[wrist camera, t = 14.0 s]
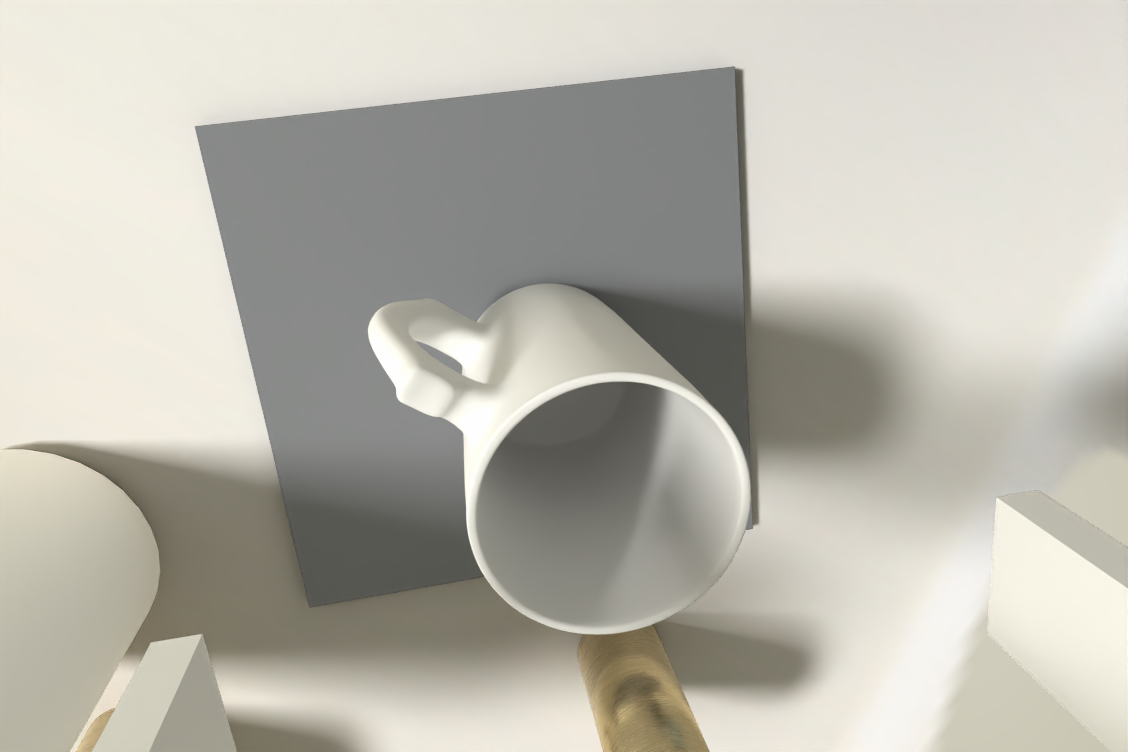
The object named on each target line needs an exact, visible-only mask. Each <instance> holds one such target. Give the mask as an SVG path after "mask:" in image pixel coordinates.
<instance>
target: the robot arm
mask: <svg viewBox="0 0 1128 752" xmlns="http://www.w3.org/2000/svg"><path fill="white" fill-rule="evenodd" d="M987 634H988V635H989V636H990V637H991V638H992V639H993V640H994V641H995V642H996V643H997V644H998V645H1000V647H1002V648H1003V649H1004V650H1005V651H1006V652H1007V653H1008V654H1009V655H1010V656H1011V657H1012V658H1013V659H1014V660H1015V661H1016V662H1017V663H1018V664H1019V665H1020V666H1021V667H1023V669H1025V671H1027V672H1028V673H1029V674H1030V675H1031V676H1032V677H1033V678H1034V679H1035V680H1036V681H1037V682H1038V683H1039V684H1040V685H1041V686H1042V687H1043V688H1044V689H1045V690H1046V691H1048V692H1049V693H1050V694H1051V695H1052V696H1053V697H1054V698H1055V699H1056V700H1057V701H1058V702H1059V703H1060V704H1061V705H1062V706H1063V707H1064V708H1065V709H1066V710H1067V711H1068V712H1069V713H1070V714H1072V715H1073V716H1074V717H1075V718H1076V719H1077V720H1078V721H1079V722H1080V723H1081V724H1082V725H1083V726H1084V727H1085V728H1086V729H1087V730H1088V731H1090V733H1091V734H1092V735H1093V736H1094V737H1095V738H1096V739H1098V740H1099V741H1100V742H1101V743H1102V744H1103V745H1104V746H1105V747H1106V748H1107V749H1108V750H1109V751H1110V752H1128V547H1127V546H1125V545H1124V544H1122V543H1121V542H1119V541H1117V540H1115V539H1114V538H1113V537H1111V536H1110V535H1108V534H1106V533H1105V532H1103V531H1102V530H1100V529H1099V528H1097V527H1095V526H1094V525H1092V524H1091V523H1089V522H1087V521H1086V520H1084V519H1083V518H1081V517H1080V516H1078V515H1077V514H1075V513H1073V512H1072V511H1070V510H1069V509H1067V508H1066V507H1064V506H1062V505H1061V504H1059V503H1058V502H1056V501H1055V500H1053V499H1051V498H1050V497H1048V496H1047V495H1045V494H1044V493H1042V492H1040V491H1039V490H1035V491H1029V492H1023V493H1018V494H1012V495H1006V496H1000V497H996V510H995V524H994V539H993V553H992V567H991V581H990V596H989V610H988V624H987ZM92 752H237V750H236V746H235V743H234V739H233V736H232V733H231V729H230V726H229V722H228V719H227V715H226V712H225V709H224V705H223V702H222V698H221V695H220V692H219V688H218V685H217V681H216V678H215V675H214V671H213V668H212V664H211V661H210V657H209V654H208V651H207V647H206V644H205V640H204V637H203V634H198V635H192V636H186V637H180V638H174V639H169V640H163V641H157V642H151V643H150V645H149V647H148V649H147V651H146V653H145V655H144V656H143V658H142V660H141V662H140V664H139V666H138V667H137V669H136V671H135V673H134V675H133V677H132V679H131V680H130V682H129V684H128V686H127V688H126V690H125V691H124V693H123V695H122V697H121V699H120V701H119V703H118V704H117V706H116V708H115V710H114V712H113V714H112V715H111V717H110V719H109V721H108V723H107V725H106V727H105V728H104V730H103V732H102V734H101V736H100V738H99V739H98V741H97V743H96V745H95V747H94V749H93V751H92Z"/></svg>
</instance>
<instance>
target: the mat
mask: <svg viewBox="0 0 1128 752" xmlns="http://www.w3.org/2000/svg"><path fill="white" fill-rule="evenodd" d="M195 129H196V134H197V138H198V142H199V146H200V150H201V155H202V159H203V163H204V167H205V171H206V175H207V180H208V184H209V188H210V192H211V196H212V201H213V205H214V209H215V213H216V217H217V222H218V226H219V230H220V234H221V238H222V243H223V247H224V251H225V255H226V259H227V264H228V268H229V272H230V276H231V280H232V284H233V289H234V293H235V297H236V301H237V305H238V310H239V314H240V318H241V322H242V326H243V331H244V335H245V339H246V343H247V347H248V352H249V356H250V360H251V364H252V368H253V372H254V377H255V381H256V385H257V389H258V393H259V398H260V402H261V406H262V410H263V414H264V419H265V423H266V427H267V431H268V435H269V440H270V444H271V448H272V452H273V456H274V461H275V465H276V469H277V473H278V477H279V481H280V486H281V490H282V494H283V498H284V502H285V507H286V511H287V515H288V519H289V523H290V528H291V532H292V536H293V540H294V544H295V549H296V553H297V557H298V561H299V565H300V569H301V574H302V578H303V582H304V586H305V590H306V595H307V599H308V603H309V607H316V606H322V605H327V604H333V603H338V602H344V601H350V600H355V599H361V598H367V597H372V596H378V595H383V594H389V593H395V592H400V591H406V590H412V589H417V588H423V587H428V586H434V585H440V584H445V583H451V582H457V581H462V580H468V579H473V578H479V577H485V576H484V575H483V573H482V571H481V570H480V568H479V566H478V564H477V561H476V559H475V557H474V554H473V551H472V548H471V545H470V541H469V536H468V531H467V522H466V498H465V476H464V436H463V432H462V431H461V430H460V429H459V428H458V427H457V426H455V425H454V424H452V423H451V422H449V421H448V420H446V419H444V418H442V417H434V416H430V415H427V414H425V413H422V412H420V411H418V410H416V409H414V408H412V407H410V406H408V405H406V404H404V403H402V402H400V401H399V400H398V398H397V395H396V387H395V385H394V383H393V382H392V380H391V379H390V377H389V376H388V374H387V373H386V371H385V370H384V368H383V367H382V365H381V363H380V362H379V360H378V358H377V356H376V355H375V353H374V351H373V349H372V346H371V344H370V341H369V336H368V327H369V323H370V321H371V319H372V317H373V316H374V314H375V313H376V312H377V311H378V310H379V309H380V308H382V307H383V306H386V305H388V304H390V303H395V302H401V301H411V300H420V299H434V300H437V301H439V302H441V303H443V304H445V305H446V306H448V307H450V308H451V309H453V310H455V311H457V312H458V313H460V314H462V315H464V316H466V317H467V318H469V319H471V320H474V321H476V322H477V321H478V319H479V318H480V317H481V315H482V314H483V313H484V312H485V311H486V310H487V309H488V308H489V307H490V306H491V305H492V304H493V303H495V302H496V301H497V300H499V299H500V298H502V297H503V296H505V295H507V294H508V293H510V292H512V291H515V290H517V289H520V288H523V287H526V286H530V285H535V284H545V283H554V284H563V285H568V286H572V287H575V288H578V289H581V290H583V291H586V292H587V293H589V294H591V295H593V296H595V297H596V298H598V299H599V300H600V301H602V302H603V303H604V304H605V305H607V306H608V307H609V308H610V309H611V310H613V311H614V312H615V313H616V314H617V315H618V316H619V317H621V318H622V319H623V320H624V321H625V322H626V323H627V324H628V325H629V326H630V327H631V328H632V329H633V330H634V331H635V332H636V333H637V334H638V335H639V336H640V337H641V338H642V339H644V340H645V341H646V342H647V343H648V344H649V345H650V346H651V347H652V348H653V349H654V350H655V351H656V352H657V353H659V354H660V355H661V356H662V357H663V358H664V359H665V360H666V361H667V362H668V363H669V364H670V365H671V366H673V367H674V368H675V369H676V370H677V371H678V372H679V373H680V374H681V375H682V376H683V377H684V378H685V379H686V380H688V381H689V382H690V383H691V384H692V385H693V386H694V387H695V388H696V389H697V390H698V391H699V392H700V393H701V394H702V395H703V397H704V398H705V399H706V400H707V401H708V402H709V403H710V404H711V405H712V406H713V407H714V408H715V409H716V410H717V411H718V412H719V413H720V414H721V415H722V416H723V418H724V419H725V420H726V421H727V423H728V424H729V426H730V427H731V428H732V430H733V432H734V433H735V435H736V437H737V439H738V441H739V443H740V445H741V447H742V450H743V452H744V455H745V458H746V462H747V466H748V470H749V476H750V486H751V473H750V447H749V422H748V396H747V371H746V345H745V319H744V294H743V268H742V243H741V217H740V191H739V166H738V140H737V115H736V89H735V67H726V68H717V69H708V70H699V71H690V72H681V73H672V74H663V75H654V76H645V77H636V78H627V79H618V80H609V81H600V82H591V83H582V84H573V85H564V86H555V87H546V88H537V89H528V90H519V91H510V92H501V93H492V94H483V95H474V96H465V97H456V98H447V99H438V100H429V101H420V102H411V103H402V104H393V105H384V106H375V107H366V108H357V109H347V110H338V111H329V112H320V113H311V114H302V115H293V116H284V117H275V118H266V119H257V120H248V121H239V122H230V123H221V124H212V125H203V126H195ZM414 341H415V340H414ZM415 342H416V343H417V344H418V345H419V346H420V347H421V348H423V349H424V350H425V351H426V352H427V353H429V354H430V355H431V356H432V357H434V358H435V359H437V360H438V361H440V362H441V363H443V364H444V365H446V366H448V367H449V368H451V369H453V370H455V371H456V372H458V373H460V374H462V365H461V364H460V363H459V362H458V361H457V360H455V359H453V358H452V357H450V356H448V355H447V354H445V353H443V352H441V351H439V350H437V349H435V348H433V347H431V346H429V345H427V344H424V343H422V342H418V341H415ZM749 529H753V524H752V499H751V501H750V511H749V517H748V521H747V525H746V529H745V530H749Z"/></svg>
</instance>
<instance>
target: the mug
mask: <svg viewBox="0 0 1128 752" xmlns="http://www.w3.org/2000/svg"><path fill="white" fill-rule="evenodd" d="M368 336H369V341H370V344H371V346H372V349H373V351H374V353H375V355H376V356H377V358H378V360H379V362H380V363H381V365H382V367H383V368H384V370H385V371H386V373H387V374H388V376H389V377H390V379H391V380H392V382H393V383H394V385H395V387H396V395H397V398H398V400H399V401H400V402H402V403H404V404H406V405H408V406H410V407H412V408H414V409H416V410H418V411H420V412H422V413H425V414H427V415H430V416H434V417H442V418H444V419H446V420H448V421H449V422H451V423H452V424H454V425H455V426H457V427H458V428H459V429H460V430H461V431H462V432H463V436H464V476H465V498H466V522H467V531H468V536H469V541H470V545H471V548H472V551H473V554H474V557H475V559H476V561H477V564H478V566H479V568H480V570H481V571H482V573H483V575H484V576H485V578H486V579H487V581H488V582H489V584H490V585H491V586H492V587H493V589H494V590H495V591H496V592H497V593H498V594H499V595H500V596H501V597H502V598H503V599H504V600H505V601H506V602H507V603H508V604H509V605H511V606H512V607H513V608H515V609H516V610H517V611H519V612H520V613H522V614H524V615H525V616H527V617H529V618H531V619H533V620H535V621H537V622H539V623H541V624H544V625H546V626H549V627H552V628H555V629H559V630H563V631H567V632H573V633H580V634H614V633H622V632H627V631H632V630H636V629H640V628H643V627H646V626H649V625H652V624H655V623H657V622H660V621H662V620H664V619H666V618H668V617H670V616H672V615H674V614H676V613H678V612H679V611H681V610H683V609H684V608H686V607H687V606H689V605H690V604H692V603H693V602H694V601H696V600H697V599H698V598H699V597H701V596H702V595H703V594H704V593H705V592H706V591H707V590H708V589H709V588H710V587H711V586H712V585H713V584H714V583H715V582H716V581H717V580H718V579H719V578H720V577H721V575H722V574H723V573H724V572H725V570H726V569H727V567H728V566H729V564H730V563H731V561H732V559H733V558H734V556H735V554H736V552H737V550H738V548H739V545H740V543H741V541H742V538H743V535H744V532H745V529H746V525H747V521H748V517H749V511H750V501H751V486H750V476H749V470H748V466H747V462H746V458H745V455H744V452H743V450H742V447H741V445H740V443H739V441H738V439H737V437H736V435H735V433H734V432H733V430H732V428H731V427H730V426H729V424H728V423H727V421H726V420H725V419H724V418H723V416H722V415H721V414H720V413H719V412H718V411H717V410H716V409H715V408H714V407H713V406H712V405H711V404H710V403H709V402H708V401H707V400H706V399H705V398H704V397H703V395H702V394H701V393H700V392H699V391H698V390H697V389H696V388H695V387H694V386H693V385H692V384H691V383H690V382H689V381H688V380H686V379H685V378H684V377H683V376H682V375H681V374H680V373H679V372H678V371H677V370H676V369H675V368H674V367H673V366H671V365H670V364H669V363H668V362H667V361H666V360H665V359H664V358H663V357H662V356H661V355H660V354H659V353H657V352H656V351H655V350H654V349H653V348H652V347H651V346H650V345H649V344H648V343H647V342H646V341H645V340H644V339H642V338H641V337H640V336H639V335H638V334H637V333H636V332H635V331H634V330H633V329H632V328H631V327H630V326H629V325H628V324H627V323H626V322H625V321H624V320H623V319H622V318H621V317H619V316H618V315H617V314H616V313H615V312H614V311H613V310H611V309H610V308H609V307H608V306H607V305H605V304H604V303H603V302H602V301H600V300H599V299H598V298H596V297H595V296H593V295H591V294H589V293H587V292H586V291H583V290H581V289H578V288H575V287H572V286H568V285H563V284H554V283H545V284H535V285H530V286H526V287H523V288H520V289H517V290H515V291H512V292H510V293H508V294H507V295H505V296H503V297H502V298H500V299H499V300H497V301H496V302H495V303H493V304H492V305H491V306H490V307H489V308H488V309H487V310H486V311H485V312H484V313H483V314H482V315H481V317H480V318H479V319H478V321H477V322H476V321H474V320H471V319H469V318H467V317H466V316H464V315H462V314H460V313H458V312H457V311H455V310H453V309H451V308H450V307H448V306H446V305H445V304H443V303H441V302H439V301H437V300H434V299H420V300H411V301H401V302H395V303H390V304H388V305H386V306H383V307H382V308H380V309H379V310H378V311H377V312H376V313H375V314H374V316H373V317H372V319H371V321H370V323H369V327H368ZM414 340H415V341H418V342H422V343H424V344H427V345H429V346H431V347H433V348H435V349H437V350H439V351H441V352H443V353H445V354H447V355H448V356H450V357H452V358H453V359H455V360H457V361H458V362H459V363H460V364H461V365H462V374H460V373H458V372H456V371H455V370H453V369H451V368H449V367H448V366H446V365H444V364H443V363H441V362H440V361H438V360H437V359H435V358H434V357H432V356H431V355H430V354H429V353H427V352H426V351H425V350H424V349H423V348H421V347H420V346H419V345H418V344H417V343H416V342H415V341H414Z"/></svg>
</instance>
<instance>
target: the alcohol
mask: <svg viewBox="0 0 1128 752" xmlns="http://www.w3.org/2000/svg"><path fill="white" fill-rule="evenodd" d="M159 577H160V562H159V551H158V547H157V544H156V541H155V538H154V535H153V532H152V529H151V527H150V526H149V524H148V522H147V521H146V519H145V517H144V516H143V514H142V512H141V511H140V509H139V508H138V507H137V506H136V505H135V503H134V502H133V501H132V500H131V499H130V498H129V497H128V496H127V494H126V493H125V492H124V491H123V490H122V489H120V488H119V487H118V486H117V485H115V484H114V483H113V482H111V481H110V480H109V479H108V478H106V477H105V476H104V475H102V474H100V473H98V472H96V471H94V470H92V469H90V468H89V467H87V466H85V465H83V464H81V463H79V462H76V461H73V460H70V459H67V458H64V457H61V456H58V455H55V454H51V453H45V452H38V451H32V450H26V449H0V752H70V750H71V749H72V747H73V745H74V743H75V742H76V740H77V738H78V736H79V734H80V733H81V731H82V729H83V727H84V726H85V724H86V722H87V720H88V719H89V717H90V715H91V713H92V712H93V710H94V708H95V706H96V704H97V703H98V701H99V699H100V697H101V696H102V694H103V692H104V690H105V689H106V687H107V685H108V683H109V681H110V680H111V678H112V676H113V674H114V673H115V671H116V669H117V667H118V666H119V664H120V662H121V660H122V659H123V657H124V655H125V653H126V651H127V650H128V648H129V646H130V644H131V643H132V641H133V639H134V637H135V636H136V634H137V632H138V630H139V629H140V627H141V625H142V623H143V621H144V620H145V618H146V616H147V614H148V613H149V611H150V608H151V606H152V604H153V601H154V599H155V596H156V594H157V590H158V584H159Z"/></svg>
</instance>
